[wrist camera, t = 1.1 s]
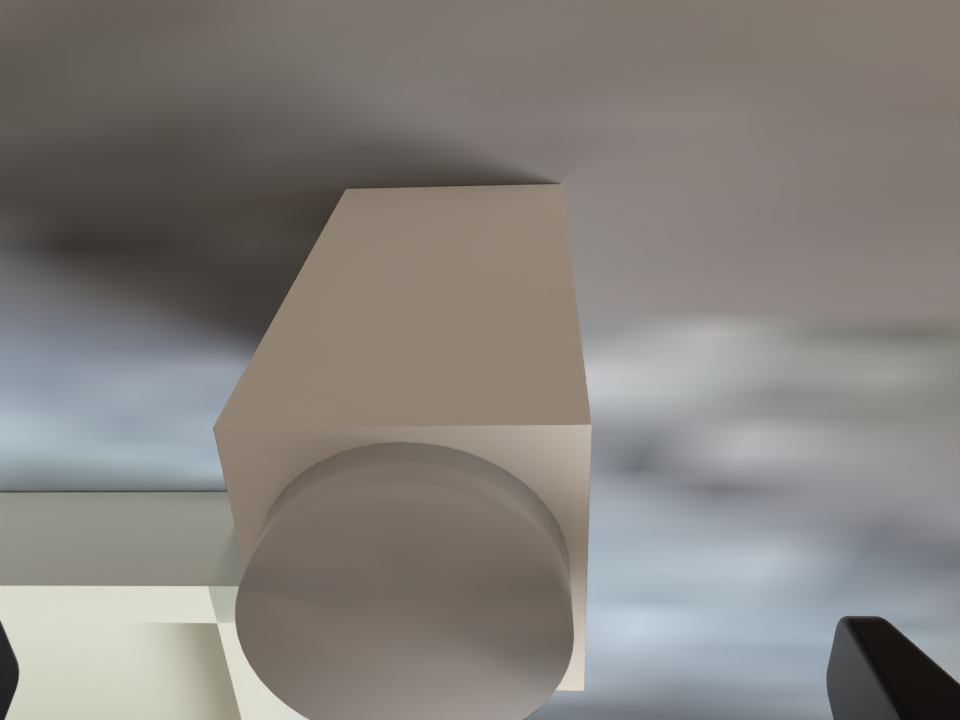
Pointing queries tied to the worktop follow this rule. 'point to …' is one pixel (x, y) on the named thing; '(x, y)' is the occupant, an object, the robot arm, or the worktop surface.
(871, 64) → the worktop surface
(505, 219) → the cream block
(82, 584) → the tray
